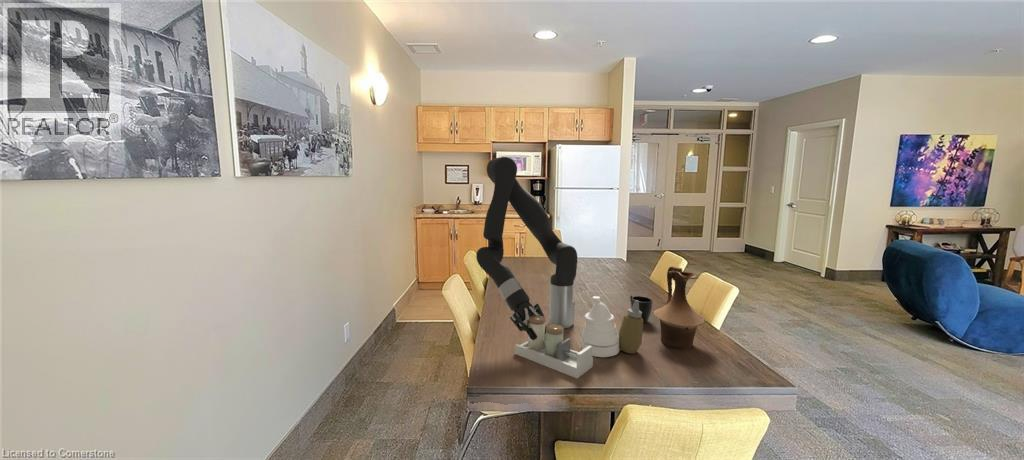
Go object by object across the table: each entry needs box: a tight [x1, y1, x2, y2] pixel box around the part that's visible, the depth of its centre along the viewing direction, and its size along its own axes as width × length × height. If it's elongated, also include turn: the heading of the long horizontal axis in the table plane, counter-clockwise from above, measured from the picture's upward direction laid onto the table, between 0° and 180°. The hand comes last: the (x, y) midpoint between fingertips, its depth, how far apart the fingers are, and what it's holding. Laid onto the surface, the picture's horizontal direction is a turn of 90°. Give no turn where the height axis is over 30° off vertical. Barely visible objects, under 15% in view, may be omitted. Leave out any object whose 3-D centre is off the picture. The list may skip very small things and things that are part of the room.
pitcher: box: [653, 265, 706, 350], centre depth 138 cm, size 18×17×28 cm
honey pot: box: [581, 295, 621, 358], centre depth 132 cm, size 13×13×18 cm
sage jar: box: [545, 324, 565, 358], centre depth 124 cm, size 6×6×10 cm
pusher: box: [556, 337, 576, 361], centre depth 120 cm, size 5×7×6 cm
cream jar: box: [527, 315, 547, 350], centre depth 128 cm, size 6×6×10 cm
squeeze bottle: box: [618, 300, 644, 355], centre depth 131 cm, size 8×8×18 cm
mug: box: [629, 294, 653, 324], centre depth 161 cm, size 8×12×10 cm
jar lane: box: [514, 339, 594, 379], centre depth 124 cm, size 24×10×7 cm, turn 50°
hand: (540, 336), depth 127 cm, fingers closed on cream jar, 5 cm apart
